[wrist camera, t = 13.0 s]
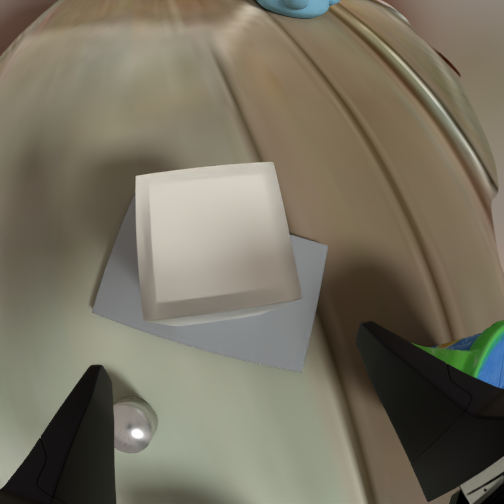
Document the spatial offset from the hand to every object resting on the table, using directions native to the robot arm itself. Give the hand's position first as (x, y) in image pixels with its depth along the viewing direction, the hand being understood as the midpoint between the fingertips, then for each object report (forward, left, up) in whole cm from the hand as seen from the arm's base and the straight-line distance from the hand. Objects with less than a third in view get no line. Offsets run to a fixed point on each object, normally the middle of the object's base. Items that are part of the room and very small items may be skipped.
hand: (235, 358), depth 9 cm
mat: (+2, -4, -12) cm, 13 cm away
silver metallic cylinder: (+5, +8, -12) cm, 15 cm away
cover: (+2, -4, -11) cm, 12 cm away
